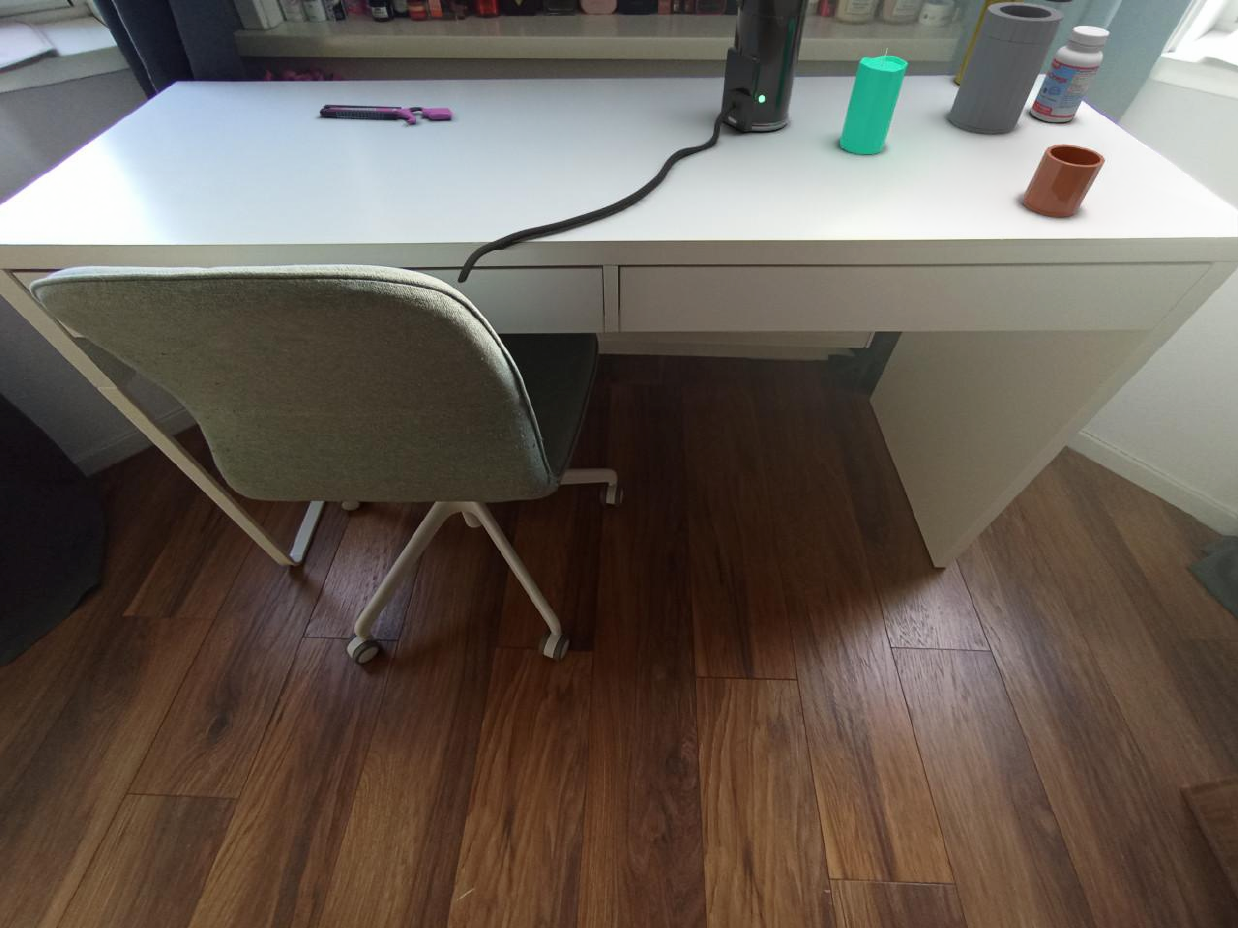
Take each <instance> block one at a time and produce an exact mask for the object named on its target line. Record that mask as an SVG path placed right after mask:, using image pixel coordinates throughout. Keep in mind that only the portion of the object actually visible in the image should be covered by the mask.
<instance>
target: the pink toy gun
mask: <svg viewBox="0 0 1238 928" xmlns="http://www.w3.org/2000/svg"><path fill="white" fill-rule="evenodd" d="M416 112H421V113H422V116H423V117H428V118H429V119H430V120H446V119H450V118H451V117H453V112H452V111H451V109H450V108H448V107H437V108H436V107H433V108H426V107H423V106H413V107H409V108H408V107H407V108H402V106H381V105H380V106H379V105H352V104H351V105H349V104H325V105H324V106H323V108H321V109H320V110H319V114H320V116H321V117H347V118H372V119H376V118H377V119H378V118H379V119H398V118H399V117H400V118H406V119H407V120H406V123H407V124H414V123H417V120H418V119H417V117H416V116H415V115H414V114H413V113H416Z"/></svg>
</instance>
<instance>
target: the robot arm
mask: <svg viewBox="0 0 1238 928" xmlns="http://www.w3.org/2000/svg"><path fill="white" fill-rule="evenodd" d="M809 2H810V0H738V7H737V13H736V14H737V16H736V24H735V33H734V40H733V41H734V42H733V46H729V47H728V48H727V53H726V63H725V71H724V81H723V89H722V98H721V99H722V100H721V108H720V112H719V114H717V115H718V116H717V117H716V119H715V120H714V125H713V133H712V136H711V138H710V139H709V140H708V141H706V142H705V143H702V144H701V145H697V146H689V147H684V148H681V149H678V150H677V151H675V152H674V153H673V154H671V155H670V156H669V157H668V158H667V159H666V160H665V162H664V164H663V165H662V167H661V168H660V170H659V171H658V173H657V174H656V175H655V176H654V177H653V178H652V179H651V180H649V181H648V182H646V184H645V185H643V186H641V188H640V189H638V190H635V192H633V193H631V194H630V195H628V196H626V197H624V198H622V199H620V200H618V201H616V202H614V203H611V204H609V205H606V206H603V207H601V208H599V209H595V210H592V211H589V212H586V213H582V214H580V215H577V216H574V217H573V216H572V217H570V218H567V219H564V220H561V221H557V222H551V223H548V224H544V225H540V226H535V227H530V228H526V229H522V230H519V231H516V232H513V233H511V234H510V233H509V234H507V235H505V236H502V237H500V238H498V239H496V240H493V241H491V242H489V243H486V244H484V245H481V246H479V248H477V249H475V250H474V251H473V252H472V253H471V254H470V255H469V256H468V258H467V259H466V261H465V263H464V265H463V266H462V268H461V270H460V272H459V275H458V278H457V283H458V284H463V283H465V282H466V281H467V280H468V278H469V275H470V273H471V271H472V269H473V268H474V266H475V264H476V263H477V261H478V260H480V259H481V257H483V256H485V255H487V254H489V253H491V252H493V251H496V250H498V249H500V248H502V247H505V246H507V245H509V244H511V243H514V242H517V241H520V240H523V239H527V238H531V237H535V236H539V235H544V234H548V233H552V232H557V231H560V230H564V229H567V228H570V227H574V226H577V225H580V224H583V223H586V222H590V221H593V220H595V219H599V218H601V217H604V216H607V215H609V214H612V213H614V212H616V211H619V210H620V209H623V208H624V207H627V206H628V205H630V204H632V203H634V202H636V201H637V200H639V199H641V197H643V196H645V195H646V194H647V193H648V192H649V191H652V189H653V188H654V187H655V186H656V185H658V184H659V183H660V182H661V181H662V180H663V179H664V177H665V176H666V175H667V173H668V172H669V170H670V168H671V167H672V165H673V164H674V163H675V162H676V161H677V160H678V159H679V158H681V157H684V156H687V155H693V154H697V153H700V152H702V151H706V150H708V149H710V148H712V147H713V146H714V145H715V144H716V142H717V141H718V140H719V137H720V133H721V132H720V131H721V125H722V123H723V122H725V123H727V124H728V125H730V126H732V127H734V128H735V129H737V130H739V131H741V132H743V133H747V132H770V131H775V130H779V129H782V128H783V127H785V126H786V125H787V124H788V121H789V115H790V113H789V111H790V106H791V105H790V104H791V100H792V94H793V88H794V84H795V77H796V72H797V67H798V61H799V56H800V50H801V46H802V40H803V35H804V28H805V22H806V18H807V12H808V7H809Z"/></svg>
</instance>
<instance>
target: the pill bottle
mask: <svg viewBox="0 0 1238 928" xmlns="http://www.w3.org/2000/svg"><path fill="white" fill-rule="evenodd" d="M1109 36H1110V31H1108V30H1107V29H1104V28H1102V27H1097V26H1090V25H1079V26H1074V27H1073V29H1072V30H1071V32H1070V34H1069V36H1068V39H1067V41H1068V44H1066V45H1063V46H1062V47H1060V48H1059V49H1058V50H1057V51H1056V53H1055V55H1054V57H1053V59H1052V61H1051V64H1050V65H1049V68H1048V70H1047V73H1046V75H1045V77H1044V79H1043V81H1042V83H1041V86H1040V88H1039V90H1038V91H1037V93H1036V96H1035V99H1034V100H1033V103H1032V105H1031V108H1030V113H1031V115H1032V116H1033V117H1035V118H1037V119H1039V120H1041V121H1045V122H1048V123H1065V122H1069V121H1071V120H1072V119H1073V118H1074V117H1075V116H1076V114H1077V112H1078V110H1079V107H1080V106H1081V104H1082V102H1083V100H1084V98H1085V95H1086V94H1087V92H1088V89H1089V88H1090V86H1091V83H1092V82H1093V80H1094V78H1095V76H1096V74H1097V72H1098V70H1099V68H1100V66H1101V64H1102V62H1103V59H1104V54H1103V51H1101V48H1102V47H1103V46H1105V44H1106V42H1107V40H1108V38H1109Z"/></svg>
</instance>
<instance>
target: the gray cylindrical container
mask: <svg viewBox="0 0 1238 928" xmlns="http://www.w3.org/2000/svg"><path fill="white" fill-rule="evenodd" d="M1064 17H1065V16H1064V13H1063V12H1062V11H1061V10H1058V9H1055V8H1054V7H1051V6H1046V5H1042V4H1038V3H1037V4H1036V3H1030V2H1022V3H1021V2H1020V3H1019V2H1005V3H997V4H992V5H990V6H989V7H988V9H987V11H986V14H985V17H984V20H983V23H982V25H981V28H980V31H979V34H978V36H977V39H976V42H975V45H974V48H973V50H972V53H971V56H970V59H969V61H968V64H967V67H966V70H965V72H964V75H963V78H962V81H961V84H960V85H959V87H958V90H957V92H956V94H955V98H954V101H953V102H952V103H953V104H952V106H951V109H950V112H949V114H948V120H949V122H950V123H951V124H952V125H953V126H955V127H958V128H960V129H962V130H964V131H967V132H972V133H976V134H986V135H1002V134H1007V133H1009V132H1012V131H1014V129H1015V128H1016V125H1017V124H1018V122H1019V119H1020V118H1021V115H1022V113H1023V111H1024V109H1025V106H1026V104H1027V101H1028V99H1029V97H1030V95H1031V92H1032V91H1033V88H1034V86H1035V83H1036V81H1037V78H1038V76H1039V74H1040V72H1041V70H1042V66H1043V65H1044V63H1045V60H1046V58H1047V56H1048V54H1049V52H1050V49H1051V47H1052V45H1053V42H1054V40H1055V38H1056V35H1057V33H1058V31H1059V28H1060V26H1061V24H1062V21H1063V19H1064Z"/></svg>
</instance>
